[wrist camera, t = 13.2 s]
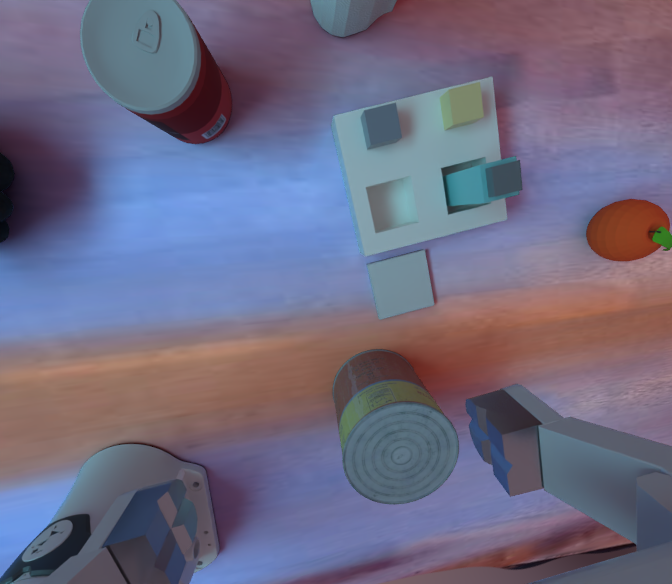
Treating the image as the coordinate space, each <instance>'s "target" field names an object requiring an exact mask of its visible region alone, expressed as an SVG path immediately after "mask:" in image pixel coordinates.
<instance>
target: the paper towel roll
mask: <svg viewBox="0 0 672 584" xmlns="http://www.w3.org/2000/svg"><path fill="white" fill-rule="evenodd" d="M396 1H397V0H311V5H312V9H313V14H314V16H315V18H316V20H317V21H318V23H319V24H320V26H321V27H322V28H323V29H324V30H326V31H327V32H328V33H330V34H331V35H334V36H339V37H346V36H349V35H352V34H355V33H358V32H361V31H364V30H366V29H367V28H368V27H369V26H370V25H371V24H372V23H373V22H374V21H375V20H376V19H377V18H378V17H380V16H382V15H383V14H385V13H387V12H392V10H393V8H394V6H395V3H396Z"/></svg>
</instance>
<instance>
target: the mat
mask: <svg viewBox="0 0 672 584" xmlns="http://www.w3.org/2000/svg"><path fill="white" fill-rule="evenodd" d="M367 268H368V272H369V277H370V281H371V286H372V290H373V295H374V299H375V304H376V308H377V312H378V317H379V319H384V318H388V317H392V316H395V315H399V314H403V313H407V312H411V311H414V310H418V309H422V308H426V307H429V306H433V305H434V300H433V294H432V288H431V282H430V277H429V271H428V265H427V259H426V254H425V250H419V251H415V252H411V253H408V254H404V255H400V256H396V257H392V258H388V259H385V260H381V261H377V262H373V263H369V264H367Z"/></svg>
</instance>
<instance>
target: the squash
mask: <svg viewBox="0 0 672 584" xmlns="http://www.w3.org/2000/svg"><path fill="white" fill-rule="evenodd" d="M14 174H15V173H14V170H13V166H12V164H11V162H10V161H9V160H8V159H7V158H6V157H5V156H4V155H3V154H1V153H0V242H2V241H4V240H5V239H6V238H7V237H8V235H9V226H8V224H7V222H6V221H5V219H6V218H8V217H9V216H10V215H11V213H12V211H13V204H12V202H11V200H10V199H9V198H8V197H7V196H6V195H5V194H4V193H2V192H1V191H3V190H5V189H7V188H8V187H9V186H10V184H11V183H12V181H13V179H14Z"/></svg>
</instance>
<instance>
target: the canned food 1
mask: <svg viewBox="0 0 672 584" xmlns="http://www.w3.org/2000/svg"><path fill="white" fill-rule="evenodd" d="M80 39H81V48H82V53H83V57H84V60H85V63H86V65H87V67H88V70H89V72H90V74H91V75H92V77H93V78H94V80H95V82H96V83H97V84H98V85H99V86H100V88H101V89H102V90H103V91H104V92H105V93H106V94H107V95H108V96H110V97H111V98H112V99H113V100H114V101H116V102H117V103H118V104H120V105H121V106H123V107H125V108H126V109H127V110H129V111H131V112H132V113H134V114H136V115H138V116H139V117H141V118H143V119H144V120H146V121H148V122H149V123H151V124H153V125H155V126H156V127H158V128H160V129H161V130H163V131H165V132H166V133H168V134H170V135H171V136H173V137H175V138H177V139H179V140H180V141H183V142H186V143H192V144H199V143H205V142H208V141H211V140H213V139H215V138H216V137H218V136H219V135H220V134H221V133H222V132H223V131H224V129H225V128H226V126H227V124H228V122H229V119H230V115H231V110H232V99H231V92H230V89H229V86H228V83H227V81H226V79H225V78H224V76H223V74H222V72H221V71H220V69H219V67H218V65H217V64H216V62H215V60H214V58H213V57H212V55H211V53H210V52H209V50H208V48H207V46H206V45H205V43H204V41H203V39H202V38H201V36H200V34H199V33H198V31H197V29H196V27H195V26H194V24H193V23H192V21H191V20H190V18H189V16H188V15H187V14H186V12H185V11H184V10H183V8H182V7H181V6H180V5H179V3H178V2H177V1H176V0H90V1H89V3H88V5H87V7H86V8H85V11H84V14H83V17H82V22H81V30H80Z"/></svg>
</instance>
